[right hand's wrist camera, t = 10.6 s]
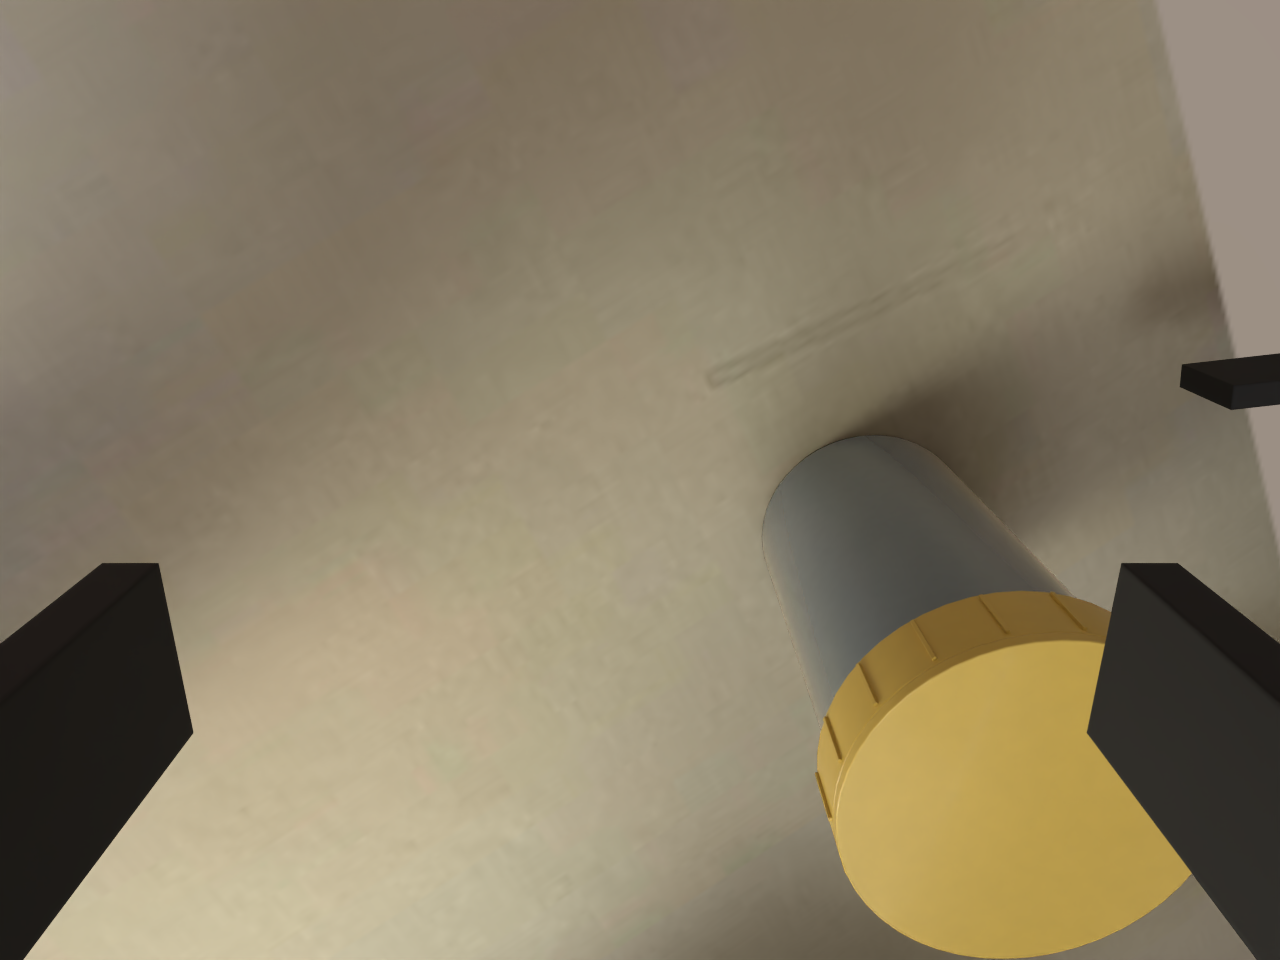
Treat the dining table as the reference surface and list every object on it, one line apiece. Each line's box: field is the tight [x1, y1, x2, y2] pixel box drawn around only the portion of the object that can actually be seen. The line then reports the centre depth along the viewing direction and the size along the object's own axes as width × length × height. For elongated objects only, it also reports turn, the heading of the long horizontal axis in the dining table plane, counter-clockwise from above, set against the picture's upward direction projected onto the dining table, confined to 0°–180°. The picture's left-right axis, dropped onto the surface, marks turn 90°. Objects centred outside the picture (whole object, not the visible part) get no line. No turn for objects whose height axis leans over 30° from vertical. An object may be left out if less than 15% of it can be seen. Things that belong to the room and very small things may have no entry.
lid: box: [815, 591, 1192, 959], centre depth 23 cm, size 10×10×2 cm
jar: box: [762, 435, 1076, 730], centre depth 30 cm, size 8×8×16 cm
